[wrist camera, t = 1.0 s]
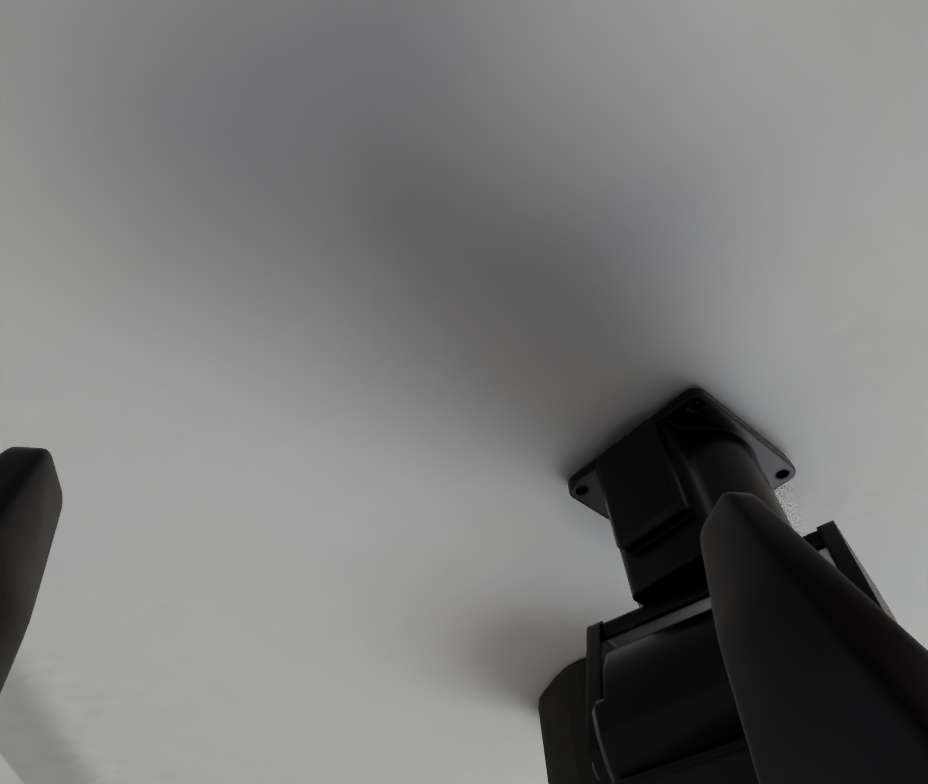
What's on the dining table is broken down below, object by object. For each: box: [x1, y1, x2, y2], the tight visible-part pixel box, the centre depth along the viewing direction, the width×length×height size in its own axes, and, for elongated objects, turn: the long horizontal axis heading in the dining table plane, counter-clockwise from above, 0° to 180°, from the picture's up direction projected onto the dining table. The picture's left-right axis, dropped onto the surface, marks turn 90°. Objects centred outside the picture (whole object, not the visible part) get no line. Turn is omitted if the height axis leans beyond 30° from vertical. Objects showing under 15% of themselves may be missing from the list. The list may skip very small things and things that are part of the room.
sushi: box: [538, 660, 600, 784], centre depth 36 cm, size 8×8×8 cm
